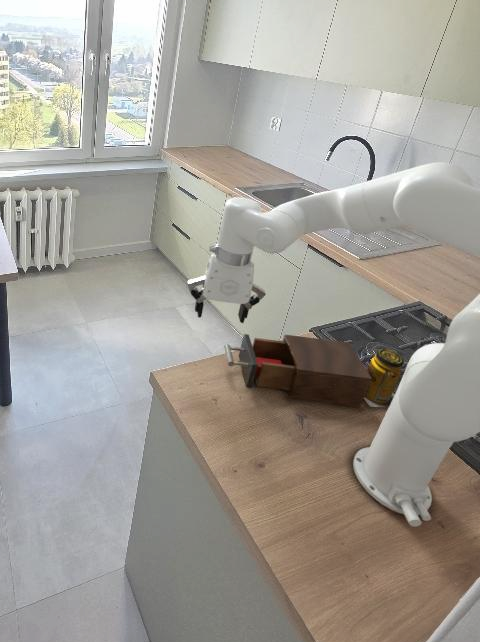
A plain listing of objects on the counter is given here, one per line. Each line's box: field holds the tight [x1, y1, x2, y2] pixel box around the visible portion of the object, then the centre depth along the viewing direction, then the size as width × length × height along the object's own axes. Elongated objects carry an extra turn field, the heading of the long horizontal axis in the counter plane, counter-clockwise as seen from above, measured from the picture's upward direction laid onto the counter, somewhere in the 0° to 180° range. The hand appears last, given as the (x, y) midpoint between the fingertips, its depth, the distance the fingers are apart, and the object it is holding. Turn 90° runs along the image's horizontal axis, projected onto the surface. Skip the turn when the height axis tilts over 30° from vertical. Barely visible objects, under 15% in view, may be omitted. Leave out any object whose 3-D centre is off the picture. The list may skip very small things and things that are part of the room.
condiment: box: [363, 348, 404, 408], centre depth 97 cm, size 7×8×12 cm
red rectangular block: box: [256, 357, 282, 375], centre depth 101 cm, size 7×3×3 cm, turn 83°
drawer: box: [224, 333, 297, 391], centre depth 101 cm, size 19×10×7 cm, turn 83°
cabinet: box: [282, 334, 372, 409], centre depth 100 cm, size 16×12×9 cm
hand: (219, 316), depth 98 cm, fingers open, 9 cm apart
